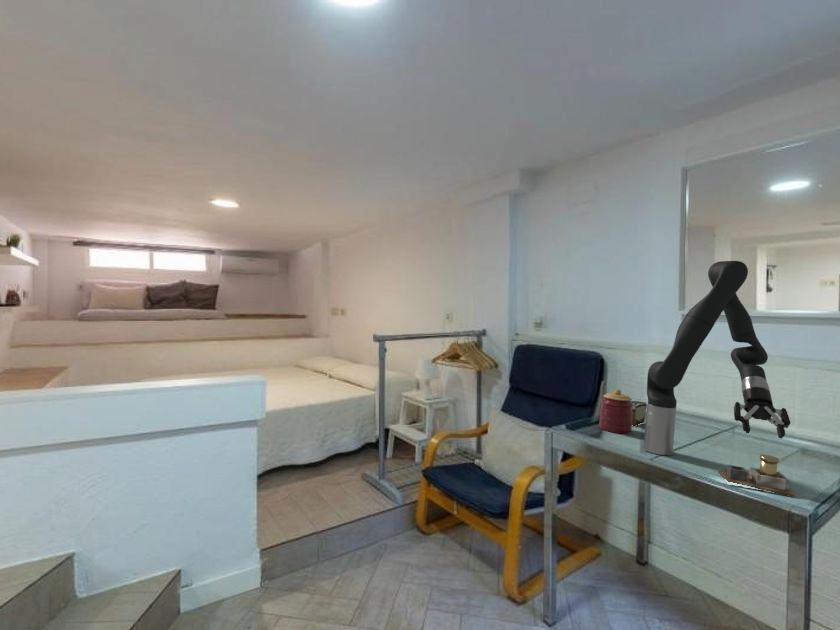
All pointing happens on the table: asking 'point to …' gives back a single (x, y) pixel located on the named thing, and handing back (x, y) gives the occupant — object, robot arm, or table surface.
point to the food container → (638, 412)
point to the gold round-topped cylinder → (768, 465)
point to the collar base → (757, 479)
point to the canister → (616, 413)
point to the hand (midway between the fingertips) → (764, 434)
